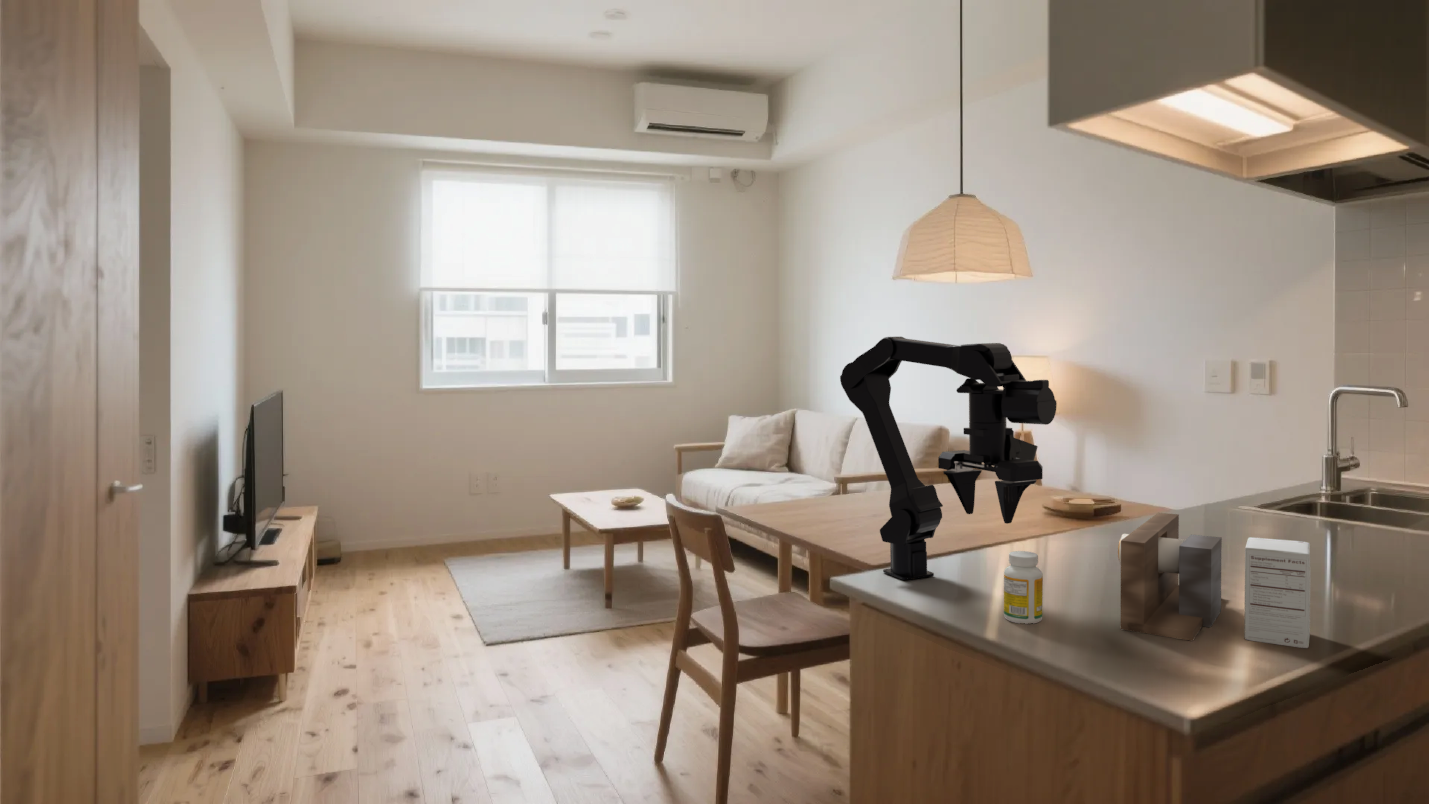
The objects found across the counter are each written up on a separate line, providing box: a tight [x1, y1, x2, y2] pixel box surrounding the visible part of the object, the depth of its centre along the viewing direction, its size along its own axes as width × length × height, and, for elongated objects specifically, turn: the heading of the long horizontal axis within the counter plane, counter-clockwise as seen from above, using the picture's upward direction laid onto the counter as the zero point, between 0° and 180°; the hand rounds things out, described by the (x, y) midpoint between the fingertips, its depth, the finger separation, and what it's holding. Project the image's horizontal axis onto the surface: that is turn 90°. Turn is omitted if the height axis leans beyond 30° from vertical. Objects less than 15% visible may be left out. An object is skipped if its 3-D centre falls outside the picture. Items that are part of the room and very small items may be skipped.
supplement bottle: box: [1003, 550, 1044, 625], centre depth 131 cm, size 5×5×10 cm
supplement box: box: [1244, 536, 1311, 649], centre depth 121 cm, size 7×7×13 cm
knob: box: [1117, 533, 1185, 575], centre depth 134 cm, size 8×5×5 cm, turn 53°
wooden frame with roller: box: [1120, 512, 1223, 642], centre depth 132 cm, size 10×24×12 cm, turn 143°
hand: (988, 518), depth 145 cm, fingers open, 9 cm apart
